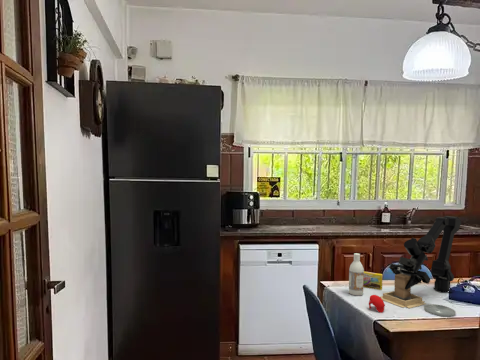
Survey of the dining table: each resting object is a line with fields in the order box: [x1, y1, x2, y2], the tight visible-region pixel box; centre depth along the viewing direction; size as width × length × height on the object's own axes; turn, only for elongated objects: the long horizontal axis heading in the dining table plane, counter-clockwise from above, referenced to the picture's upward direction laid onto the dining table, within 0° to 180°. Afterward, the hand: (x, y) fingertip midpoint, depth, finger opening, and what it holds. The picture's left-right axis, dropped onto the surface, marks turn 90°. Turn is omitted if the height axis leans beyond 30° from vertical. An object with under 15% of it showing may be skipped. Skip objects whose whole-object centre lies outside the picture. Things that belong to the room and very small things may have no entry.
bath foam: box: [348, 252, 365, 297], centre depth 178 cm, size 7×7×20 cm
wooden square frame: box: [379, 290, 427, 309], centre depth 169 cm, size 16×16×2 cm
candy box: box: [363, 270, 384, 291], centre depth 189 cm, size 16×2×8 cm, turn 58°
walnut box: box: [393, 274, 412, 301], centre depth 169 cm, size 5×5×12 cm
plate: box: [423, 303, 457, 318], centre depth 156 cm, size 12×12×1 cm
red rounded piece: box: [368, 294, 386, 314], centre depth 157 cm, size 8×6×6 cm
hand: (400, 287), depth 168 cm, fingers closed on walnut box, 5 cm apart
